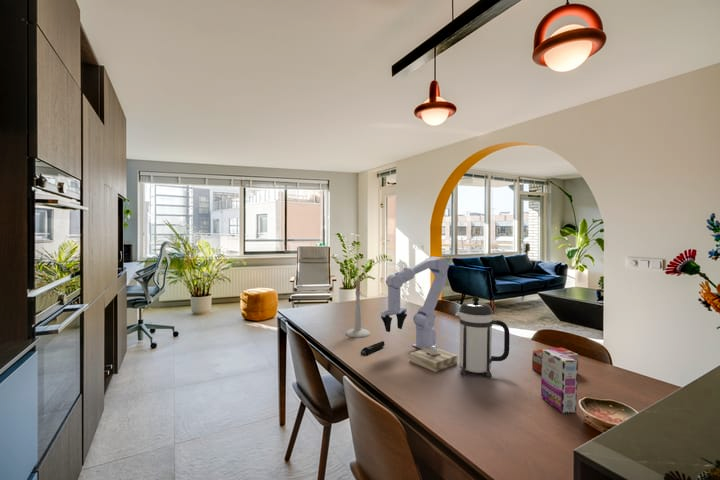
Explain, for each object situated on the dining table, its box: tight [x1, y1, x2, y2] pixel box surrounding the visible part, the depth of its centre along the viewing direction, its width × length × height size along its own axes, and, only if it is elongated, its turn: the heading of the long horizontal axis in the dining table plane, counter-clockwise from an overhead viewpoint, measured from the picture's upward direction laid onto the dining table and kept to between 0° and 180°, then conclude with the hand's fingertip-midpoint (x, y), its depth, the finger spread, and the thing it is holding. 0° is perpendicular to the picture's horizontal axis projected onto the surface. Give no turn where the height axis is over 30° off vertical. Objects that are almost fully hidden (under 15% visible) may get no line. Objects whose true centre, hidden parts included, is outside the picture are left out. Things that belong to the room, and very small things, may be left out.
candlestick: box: [345, 278, 371, 339], centre depth 185 cm, size 13×13×30 cm
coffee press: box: [455, 296, 510, 379], centre depth 137 cm, size 17×16×30 cm
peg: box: [429, 344, 438, 357], centre depth 146 cm, size 3×3×7 cm
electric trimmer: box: [360, 340, 385, 356], centre depth 161 cm, size 4×16×3 cm, turn 140°
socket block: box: [409, 347, 458, 373], centre depth 146 cm, size 14×14×4 cm
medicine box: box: [531, 347, 579, 374], centre depth 138 cm, size 15×8×8 cm, turn 105°
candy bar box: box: [540, 348, 579, 414], centre depth 111 cm, size 11×5×16 cm, turn 5°
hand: (393, 330), depth 159 cm, fingers open, 7 cm apart
